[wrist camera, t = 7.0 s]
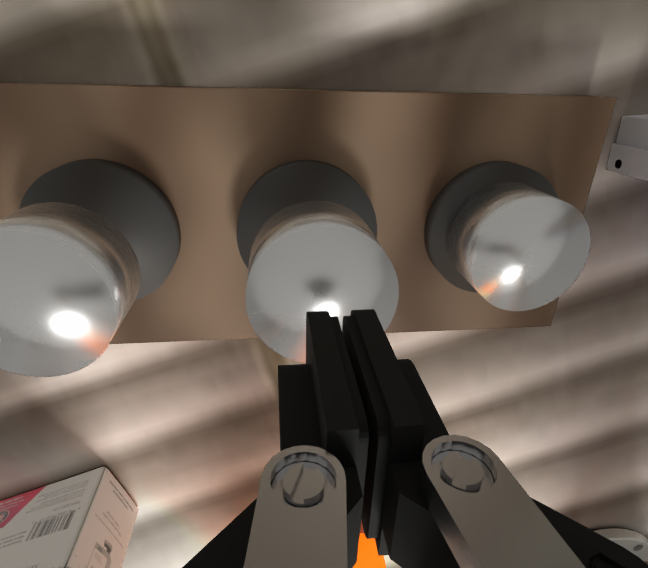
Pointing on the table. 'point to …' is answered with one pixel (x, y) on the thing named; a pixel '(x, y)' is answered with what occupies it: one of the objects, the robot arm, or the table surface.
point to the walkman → (631, 148)
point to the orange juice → (368, 554)
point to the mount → (288, 182)
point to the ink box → (68, 524)
